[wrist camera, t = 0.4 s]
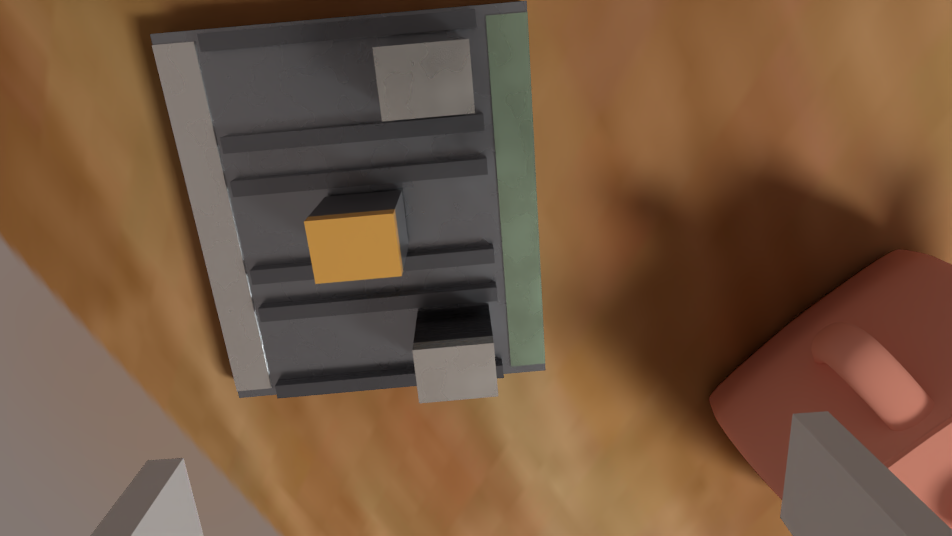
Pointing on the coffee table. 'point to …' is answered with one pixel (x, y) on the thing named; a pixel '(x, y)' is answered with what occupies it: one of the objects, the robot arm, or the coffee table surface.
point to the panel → (365, 171)
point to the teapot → (858, 377)
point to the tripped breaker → (358, 237)
